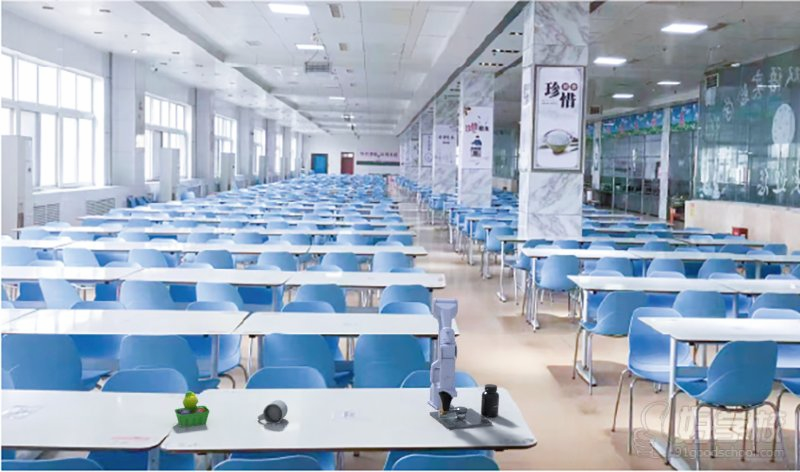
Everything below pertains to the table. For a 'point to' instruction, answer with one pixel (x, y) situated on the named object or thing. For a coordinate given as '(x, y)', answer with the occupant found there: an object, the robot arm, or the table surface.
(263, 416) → the ceramic mug
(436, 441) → the table surface
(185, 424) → the fruit basket
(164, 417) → the table surface
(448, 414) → the base
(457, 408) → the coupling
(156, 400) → the table surface
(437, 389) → the robot arm
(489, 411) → the supplement bottle
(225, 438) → the table surface
